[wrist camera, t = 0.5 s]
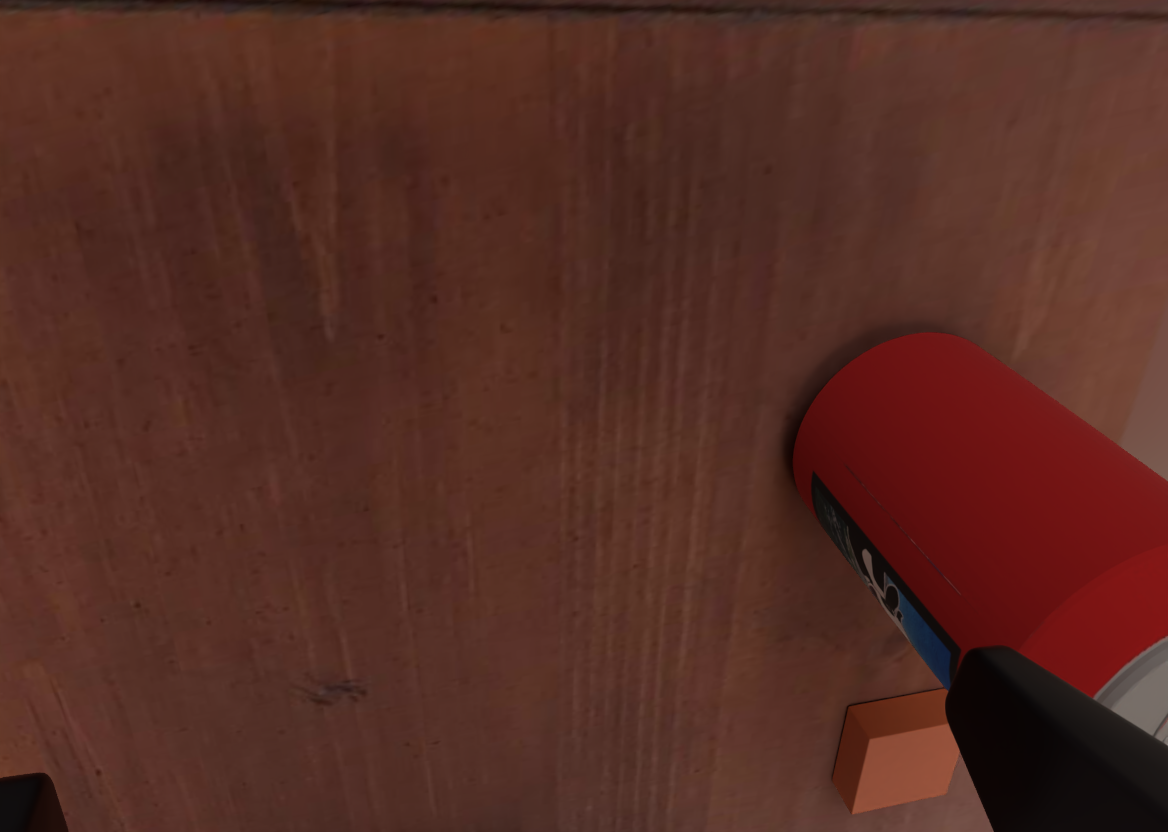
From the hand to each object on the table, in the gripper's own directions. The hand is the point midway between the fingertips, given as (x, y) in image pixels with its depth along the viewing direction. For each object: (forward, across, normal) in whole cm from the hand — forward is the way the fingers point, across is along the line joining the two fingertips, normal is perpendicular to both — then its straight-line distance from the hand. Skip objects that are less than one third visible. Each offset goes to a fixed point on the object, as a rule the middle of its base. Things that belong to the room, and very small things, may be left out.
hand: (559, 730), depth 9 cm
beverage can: (+15, -14, +7) cm, 22 cm away
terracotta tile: (+14, -18, +21) cm, 31 cm away
